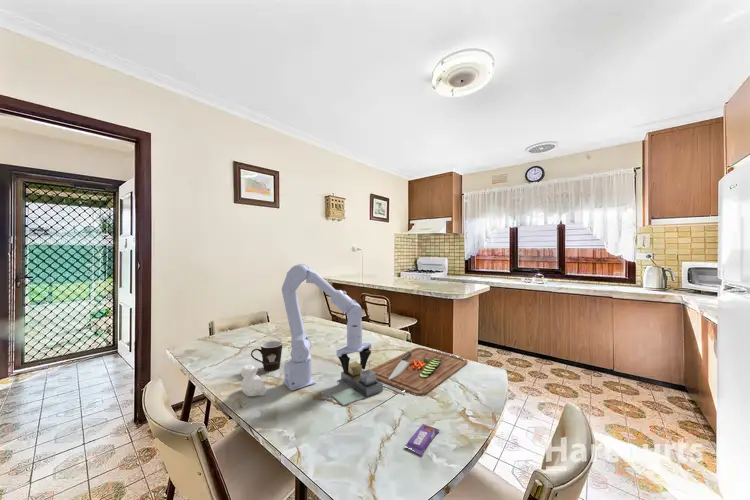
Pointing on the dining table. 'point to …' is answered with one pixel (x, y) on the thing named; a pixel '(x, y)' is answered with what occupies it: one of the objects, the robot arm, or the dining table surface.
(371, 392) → the gray slotted board
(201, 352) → the dining table surface
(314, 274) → the robot arm
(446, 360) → the chopping board
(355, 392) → the mat
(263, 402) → the dining table surface
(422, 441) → the snack package
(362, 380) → the gray metal block
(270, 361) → the coffee mug
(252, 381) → the bust
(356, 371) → the tan wooden block
